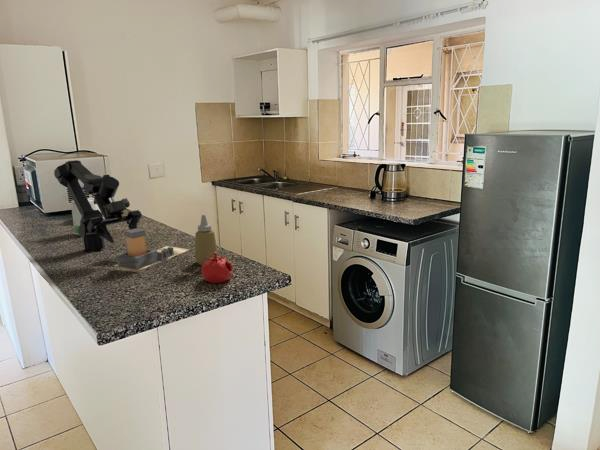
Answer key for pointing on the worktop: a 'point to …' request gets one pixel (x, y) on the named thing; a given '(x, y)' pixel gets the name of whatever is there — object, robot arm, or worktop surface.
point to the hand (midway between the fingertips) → (125, 239)
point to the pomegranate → (217, 269)
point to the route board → (146, 258)
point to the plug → (136, 242)
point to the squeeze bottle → (204, 242)
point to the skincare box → (78, 215)
